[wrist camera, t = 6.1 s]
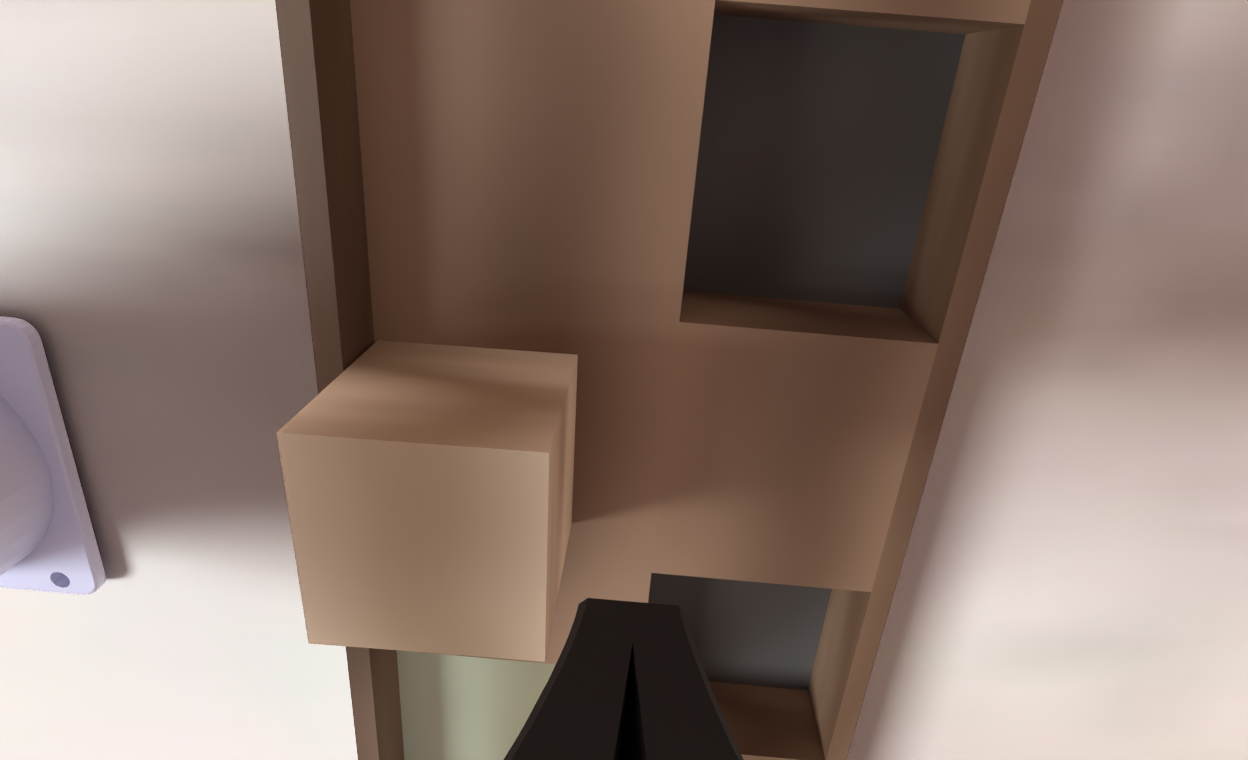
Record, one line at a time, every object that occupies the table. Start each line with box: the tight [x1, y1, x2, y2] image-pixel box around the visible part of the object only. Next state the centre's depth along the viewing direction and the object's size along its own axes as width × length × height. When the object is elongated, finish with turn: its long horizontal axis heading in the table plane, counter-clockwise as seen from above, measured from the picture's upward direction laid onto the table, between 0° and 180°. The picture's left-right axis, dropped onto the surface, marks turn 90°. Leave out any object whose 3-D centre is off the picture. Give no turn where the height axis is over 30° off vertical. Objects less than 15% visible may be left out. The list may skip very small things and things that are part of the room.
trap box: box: [275, 0, 1063, 760], centre depth 15 cm, size 12×26×4 cm, turn 176°
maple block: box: [276, 340, 578, 662], centre depth 13 cm, size 4×4×4 cm
